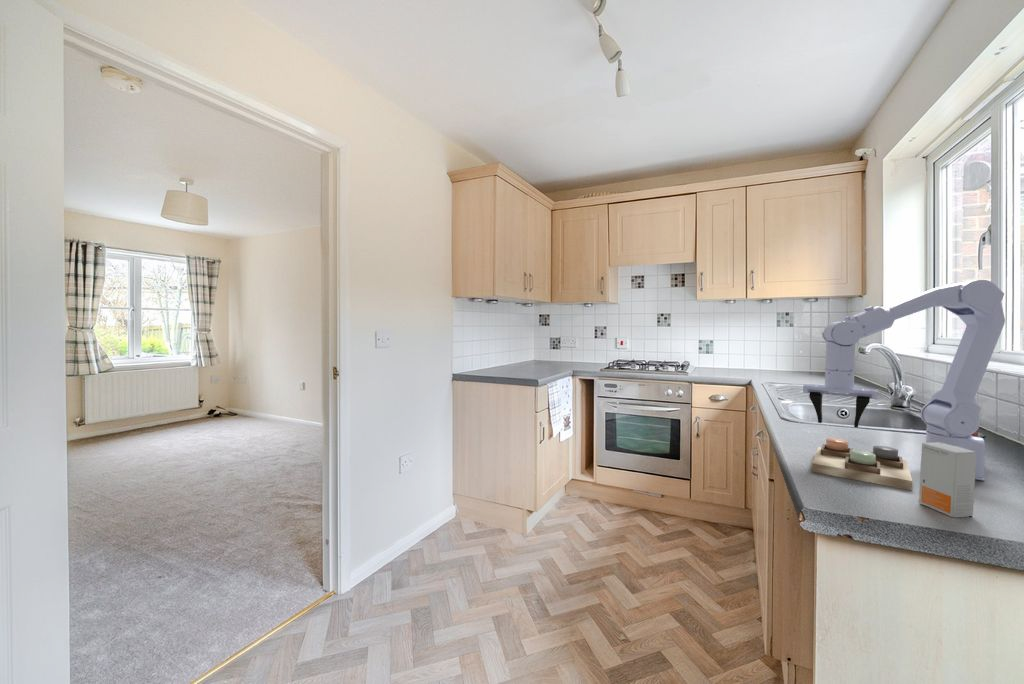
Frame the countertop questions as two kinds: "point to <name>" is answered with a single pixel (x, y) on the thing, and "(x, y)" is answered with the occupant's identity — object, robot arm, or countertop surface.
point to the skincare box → (947, 479)
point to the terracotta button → (836, 444)
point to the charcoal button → (885, 452)
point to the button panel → (862, 468)
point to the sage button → (862, 457)
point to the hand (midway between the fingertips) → (837, 424)
